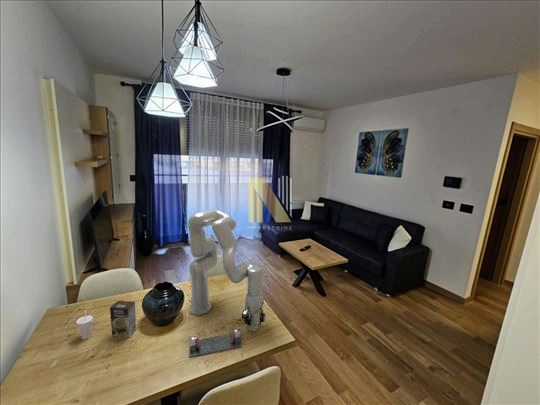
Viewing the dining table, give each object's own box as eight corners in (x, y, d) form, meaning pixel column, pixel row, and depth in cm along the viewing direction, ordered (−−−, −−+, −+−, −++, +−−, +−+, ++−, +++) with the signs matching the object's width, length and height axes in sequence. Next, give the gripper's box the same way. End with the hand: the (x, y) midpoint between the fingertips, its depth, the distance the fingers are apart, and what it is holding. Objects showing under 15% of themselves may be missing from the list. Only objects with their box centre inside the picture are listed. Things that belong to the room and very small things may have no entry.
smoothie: (97, 334, 119) (94, 309, 117) (83, 343, 114) (80, 317, 111) (89, 330, 122) (87, 305, 119) (75, 338, 116) (72, 313, 114)
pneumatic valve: (262, 334, 124) (263, 313, 122) (241, 330, 127) (241, 309, 124) (265, 326, 130) (266, 307, 128) (244, 323, 132) (245, 303, 130)
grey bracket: (189, 357, 108) (188, 343, 107) (189, 342, 117) (189, 329, 115) (241, 347, 115) (241, 333, 114) (238, 334, 124) (238, 321, 122)
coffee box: (111, 337, 118) (108, 307, 115) (119, 328, 125) (117, 300, 122) (129, 338, 118) (127, 308, 115) (137, 329, 124) (135, 300, 121)
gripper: (258, 281, 133) (257, 308, 136) (238, 295, 119) (237, 325, 122) (269, 285, 129) (268, 313, 132) (250, 300, 115) (249, 331, 118)
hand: (253, 319), depth 127 cm, fingers open, 9 cm apart
